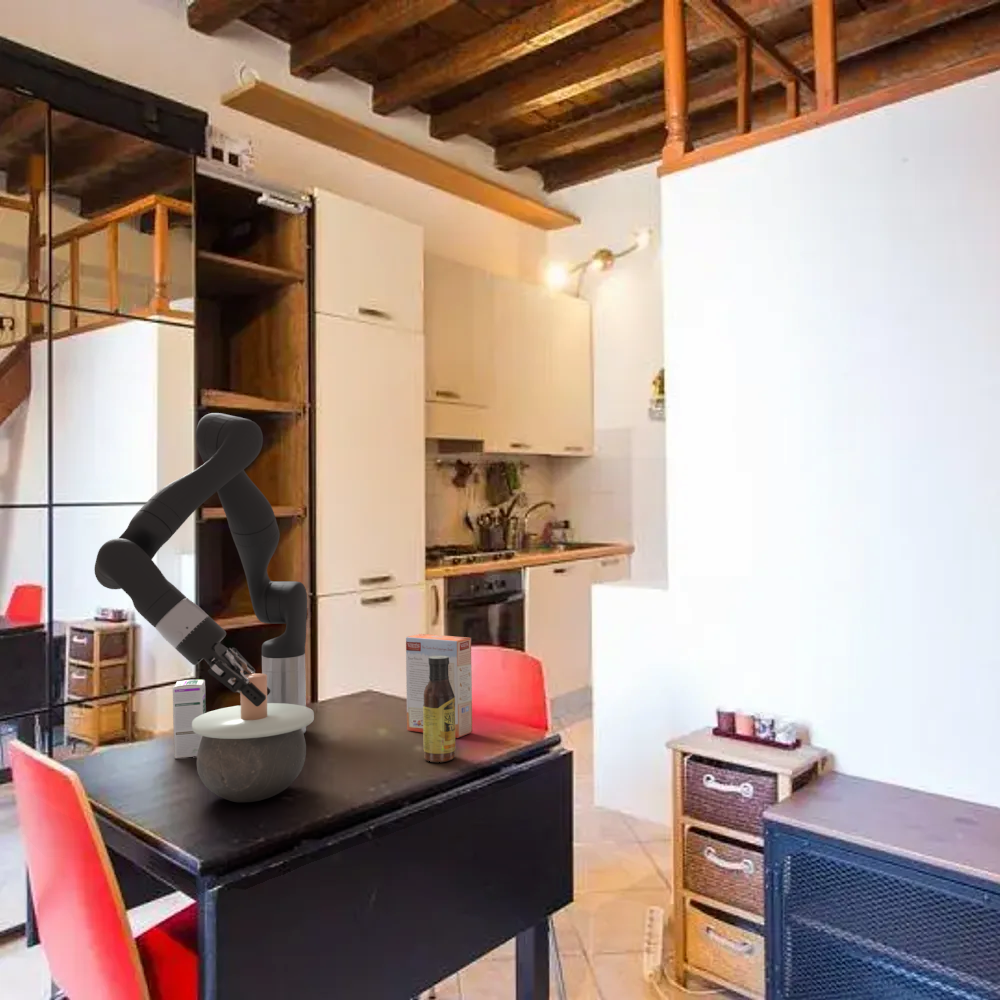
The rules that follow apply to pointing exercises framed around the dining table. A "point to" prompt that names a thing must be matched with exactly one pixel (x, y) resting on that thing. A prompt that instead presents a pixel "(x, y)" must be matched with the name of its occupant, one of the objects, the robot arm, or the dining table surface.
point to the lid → (253, 717)
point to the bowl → (251, 765)
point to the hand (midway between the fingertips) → (264, 698)
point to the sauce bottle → (438, 713)
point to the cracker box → (458, 674)
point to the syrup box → (187, 715)
